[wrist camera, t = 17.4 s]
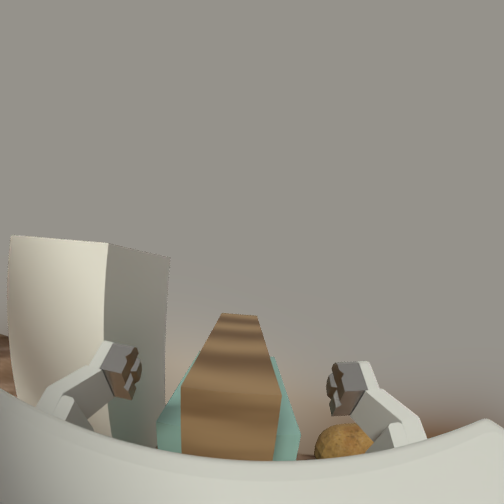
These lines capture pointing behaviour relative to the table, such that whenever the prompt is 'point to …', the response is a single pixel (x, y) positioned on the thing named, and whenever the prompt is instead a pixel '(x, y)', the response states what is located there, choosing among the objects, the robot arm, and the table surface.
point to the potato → (342, 441)
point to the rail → (231, 395)
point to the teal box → (286, 431)
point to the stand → (88, 322)
